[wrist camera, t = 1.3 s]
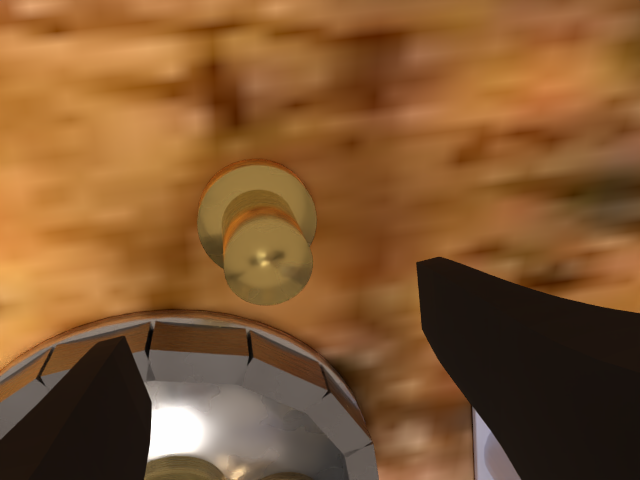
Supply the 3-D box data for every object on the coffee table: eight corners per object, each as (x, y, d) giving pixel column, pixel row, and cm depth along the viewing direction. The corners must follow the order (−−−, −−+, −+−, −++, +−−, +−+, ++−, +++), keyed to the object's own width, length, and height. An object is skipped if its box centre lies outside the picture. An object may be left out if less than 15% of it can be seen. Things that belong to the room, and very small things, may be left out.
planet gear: (300, 147, 19) (328, 181, 14) (319, 250, 21) (348, 309, 16) (184, 172, 18) (175, 215, 14) (214, 276, 20) (215, 344, 16)
